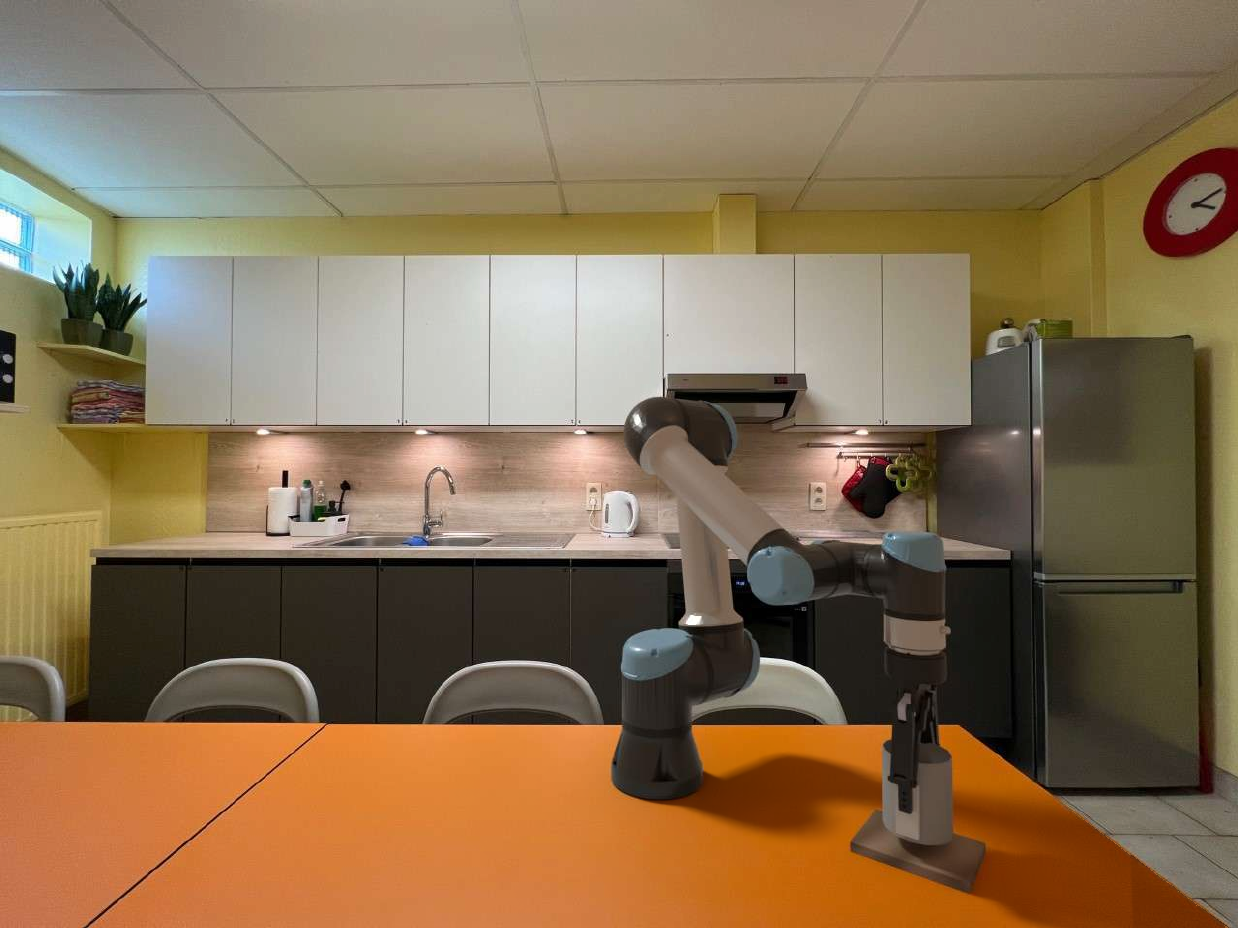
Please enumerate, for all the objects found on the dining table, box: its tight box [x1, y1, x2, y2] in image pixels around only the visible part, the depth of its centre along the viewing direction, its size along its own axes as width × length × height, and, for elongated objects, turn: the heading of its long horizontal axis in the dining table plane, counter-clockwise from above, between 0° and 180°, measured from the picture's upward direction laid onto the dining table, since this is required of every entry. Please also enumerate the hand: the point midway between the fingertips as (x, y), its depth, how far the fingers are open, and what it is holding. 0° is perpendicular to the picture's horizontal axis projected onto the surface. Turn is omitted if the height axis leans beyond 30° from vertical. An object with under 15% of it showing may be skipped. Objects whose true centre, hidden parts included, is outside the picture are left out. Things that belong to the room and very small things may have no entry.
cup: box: [881, 738, 954, 845], centre depth 83 cm, size 8×8×10 cm
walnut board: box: [849, 809, 987, 894], centre depth 83 cm, size 14×11×1 cm
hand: (916, 820), depth 83 cm, fingers closed on cup, 8 cm apart
